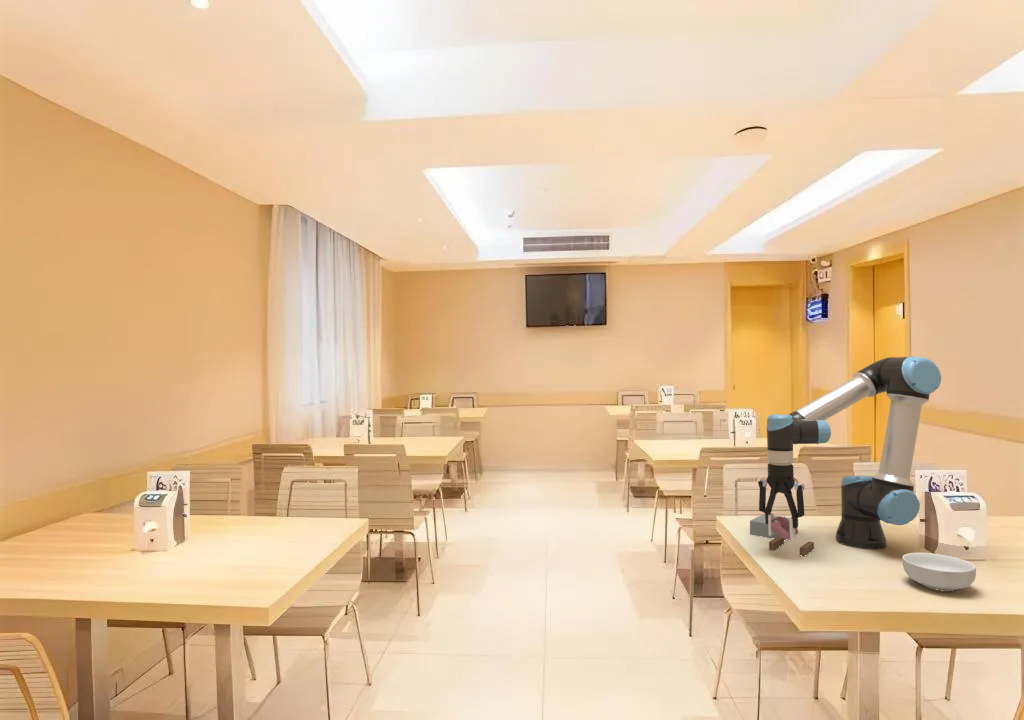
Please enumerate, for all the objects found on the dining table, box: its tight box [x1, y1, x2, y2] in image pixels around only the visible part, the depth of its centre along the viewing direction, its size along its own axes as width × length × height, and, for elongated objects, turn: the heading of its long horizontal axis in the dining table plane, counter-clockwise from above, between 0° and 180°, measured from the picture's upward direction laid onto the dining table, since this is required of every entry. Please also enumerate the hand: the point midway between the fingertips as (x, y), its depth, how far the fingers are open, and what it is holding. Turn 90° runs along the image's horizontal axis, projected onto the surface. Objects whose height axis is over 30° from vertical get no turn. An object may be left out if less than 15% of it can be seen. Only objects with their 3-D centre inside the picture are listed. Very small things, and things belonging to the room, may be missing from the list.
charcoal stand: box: [749, 513, 790, 541], centre depth 220 cm, size 12×14×5 cm
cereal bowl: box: [901, 552, 977, 592], centre depth 168 cm, size 17×17×7 cm
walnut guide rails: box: [768, 536, 815, 557], centre depth 201 cm, size 11×10×2 cm
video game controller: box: [771, 515, 799, 540], centre depth 195 cm, size 10×5×7 cm, turn 137°
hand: (781, 536), depth 193 cm, fingers closed on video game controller, 6 cm apart
